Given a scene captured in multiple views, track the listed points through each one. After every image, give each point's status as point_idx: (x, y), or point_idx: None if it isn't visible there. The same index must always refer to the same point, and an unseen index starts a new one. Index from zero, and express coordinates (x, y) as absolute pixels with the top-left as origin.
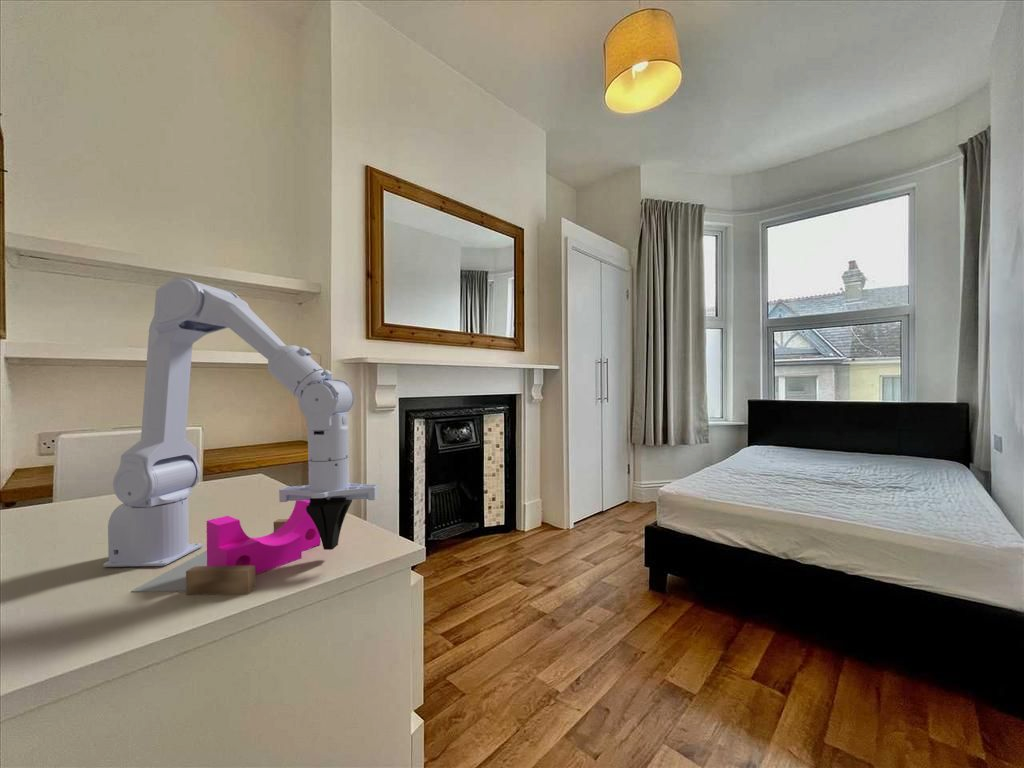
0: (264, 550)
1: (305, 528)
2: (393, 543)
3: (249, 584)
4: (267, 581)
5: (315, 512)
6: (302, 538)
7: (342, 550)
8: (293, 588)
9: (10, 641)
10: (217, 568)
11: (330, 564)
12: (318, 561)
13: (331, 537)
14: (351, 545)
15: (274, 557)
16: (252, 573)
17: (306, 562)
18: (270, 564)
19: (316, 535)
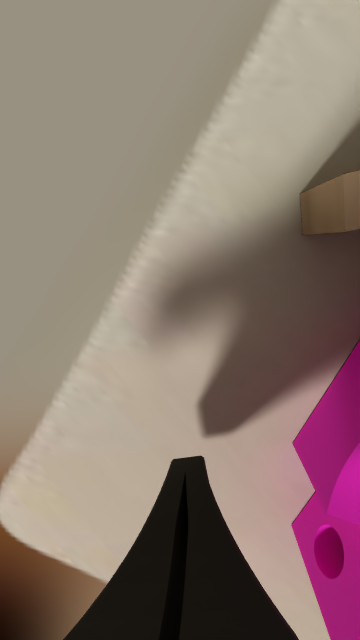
0: None
1: (354, 570)
2: (79, 548)
3: (312, 197)
4: (294, 285)
5: (223, 633)
6: (342, 524)
7: None
8: (172, 255)
9: None
10: None
11: (169, 415)
12: (221, 428)
13: (161, 492)
14: None
15: (356, 392)
16: (330, 215)
17: (255, 418)
18: (352, 370)
19: (311, 553)
